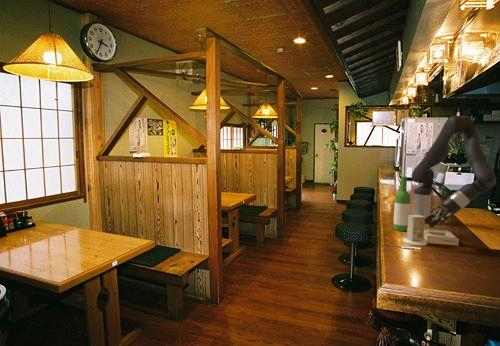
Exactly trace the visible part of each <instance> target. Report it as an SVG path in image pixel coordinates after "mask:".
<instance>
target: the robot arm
mask: <svg viewBox="0 0 500 346" xmlns="http://www.w3.org/2000/svg"><path fill="white" fill-rule="evenodd" d="M461 134H462V135H464V137H465V139H466V146H465V153H464V154H465V159H466V161H467V162H468V164H469V167H470V168H471V169H472V170H473V174H474V176H475V179H476V180H474V181H473V182H471V183H466V184H465V185H463V186H461V187H460V188H459V189H458V190H456V191H455V192H453V193H451V194H450V195H449V196H448V197H446V198H445V199H444V200H442V202H441V205H442V206H440V205H438V206H436V207H435V208H434V209H433V210H431V198H432V191H433V186H434V178H435V172H434V170H433V169H432V168H433V167H435V166H437V165H439V164H441V163H442V162H443V161H444V160H445V159H446V157H447V156H448V155H449V153H450V151H451V149H450V140H451V138H452V137H453V136H454V135H461ZM479 141H480V140H479V138H478V133H477V130H476V127H475V124H474V120H473V119H472V117H471V116H469V115H453V116H449V117H448V118H447V119H446V120H445V122H444V124H443V127H442V128H441V130H440V132H439V134H438V135H437V137H436V138H435V140H434V142H433V143H432V145H431V146H430V148H429V149H428V151H427V153H426V154H425V156H424V157H423V158H422V160H421V161H420V163H418V164H417V165H416V167H415V168H414V169H413V171H412V174H411V179H412V181H413V182H414V183H419V184H422V185H420V186H418V187H416V188H414V190H413V192H414V193H413V204H412V215H421V216H424V217H425V223H424V224H428V227H430V228H433V229H434V227H435V226H436V225H438V224H443V223H445V221H448V219H449V218H451V217H452V216H453V215H456V214H457V213H458V212H459V211H461V210H462V209H463V208H465V207H467V205H468V204H469V203H470V202H472V201H473V200H475V199H476V198H477V197H478V196H480V195H482V194H483V193H486V192H487V191H489V190H491V189H492V188H493V187H494V186H495V185H496V183H497V179H496V174H495V172H494V170H493V168H492V166H490V164H489V162H488V160H487V157H486V155H485V154H484V152H483V149H482V147H481V145H480V142H479Z"/></svg>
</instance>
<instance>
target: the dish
mask: <svg viewBox="0 0 500 346" xmlns="http://www.w3.org/2000/svg"><path fill="white" fill-rule="evenodd" d="M401 241H402V242H403V243H404V244H407V245H410V246H411V245H412V246H418V247H424V246H427V245H428V242H427V241H426V240H425V239H424V238H423V241H411V240H408V239H407V236H404V237H403V236H402V238H401Z"/></svg>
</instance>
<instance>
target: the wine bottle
mask: <svg viewBox="0 0 500 346" xmlns="http://www.w3.org/2000/svg"><path fill="white" fill-rule="evenodd" d="M407 182H408V176H400V189H399V191H398V192H397V193H396V194H395V196H394V208H393V209H394V211H393V224H392V226H393V229H394V230H395V231H399V232H407V228H408V217H409V215H411V214H410V213H411V210H410V209H411V195H410V193H409V192H408V191H407V184H408V183H407Z"/></svg>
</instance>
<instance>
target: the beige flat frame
mask: <svg viewBox="0 0 500 346" xmlns="http://www.w3.org/2000/svg"><path fill="white" fill-rule="evenodd" d="M423 239H424V240H426V241H427V244H437V245H446V246H447V245H448V246H449V245H450V246H459V245H460V244H459V243H460V240H459V238H458V237H457V236H455V234H453V233H452V232H450V231H449V230H441V229H427V228H424V234H423Z"/></svg>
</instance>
